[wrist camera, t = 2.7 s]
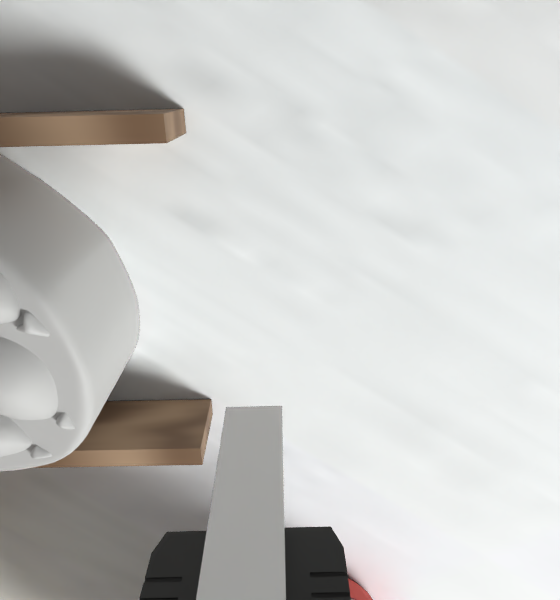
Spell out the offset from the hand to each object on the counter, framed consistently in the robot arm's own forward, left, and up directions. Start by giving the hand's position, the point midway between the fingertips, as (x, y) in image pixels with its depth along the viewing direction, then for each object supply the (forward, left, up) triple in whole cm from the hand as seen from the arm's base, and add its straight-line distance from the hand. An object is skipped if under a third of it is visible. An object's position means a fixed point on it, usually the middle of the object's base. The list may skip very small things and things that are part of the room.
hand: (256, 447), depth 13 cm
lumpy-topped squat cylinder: (+12, 0, -12) cm, 17 cm away
